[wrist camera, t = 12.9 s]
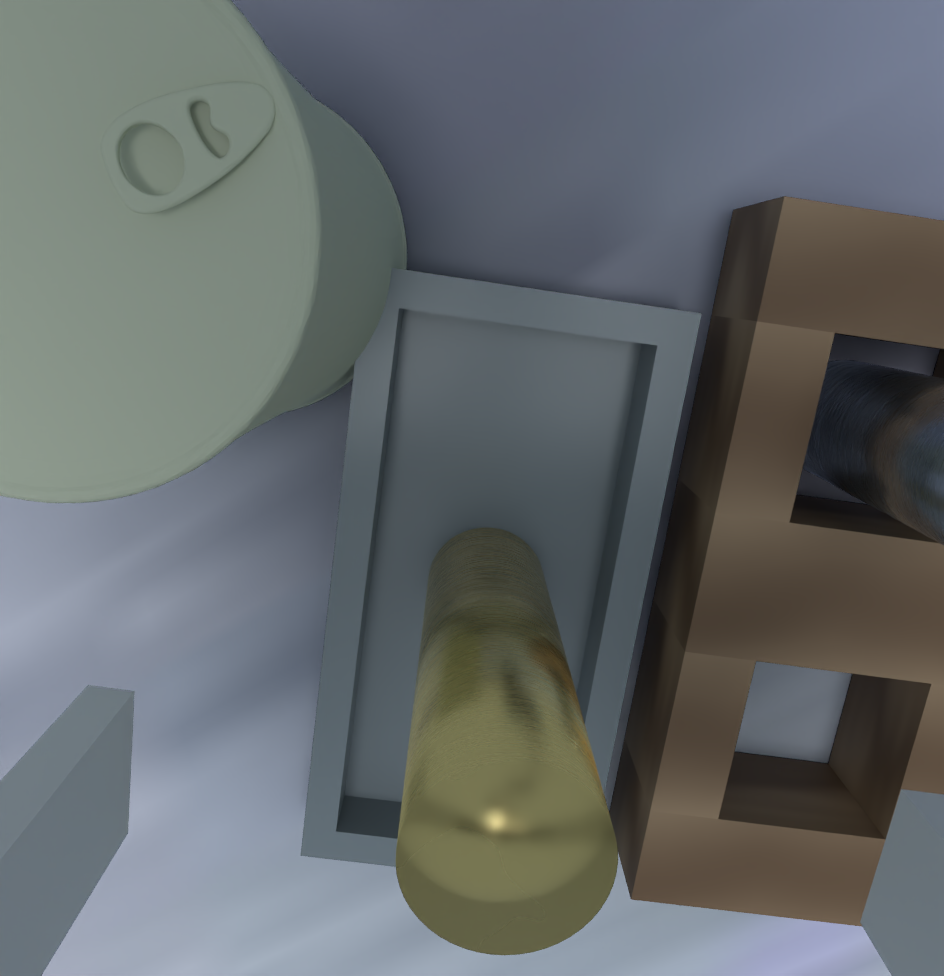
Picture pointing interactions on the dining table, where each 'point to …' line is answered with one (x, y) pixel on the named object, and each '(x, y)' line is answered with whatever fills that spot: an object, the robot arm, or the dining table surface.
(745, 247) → the block
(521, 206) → the dining table surface
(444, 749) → the brass pin
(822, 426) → the steel pin
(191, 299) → the can
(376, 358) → the tray
